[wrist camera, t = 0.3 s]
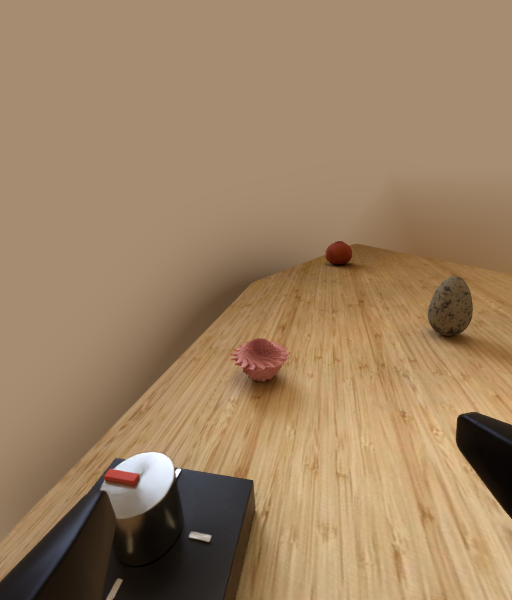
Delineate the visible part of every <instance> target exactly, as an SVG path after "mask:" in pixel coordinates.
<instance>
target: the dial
mask: <svg viewBox="0 0 512 600" xmlns="http://www.w3.org/2000/svg"><path fill="white" fill-rule="evenodd" d="M104 479H105V480H104V482H103V483H102V485H101V488H100V491H101V490H105V491H106V492H107V493H108V495H109V498H110V501H111V504H112V507H113V509H114V512H115V516H116V527H115V533H114V538H113V543H112V547H113V551H114V553H115V555H116V557H117V558H118V559H119V560H120V561H121V562H123V563H124V564H127V565H132V566H139V565H144V564H147V563H150V562H152V561H154V560H156V559H158V558H159V557H160V556H162V555H163V554H164V553H165V552H166V551H167V550H168V549H169V548H170V547H171V546H172V545H173V543H174V542H175V540H176V539H177V537H178V535H179V533H180V531H181V528H182V524H183V509H182V504H181V499H180V494H179V489H178V483H177V478H176V473H175V468H174V465H173V463H172V461H171V460H170V459H169V458H168V457H167V456H165V455H164V454H161V453H157V452H147V453H141V454H138V455H135V456H133V457H130V458H128V459H127V460H125V461H123V462H122V463H120V464H119V465H118V466H116V467H115V468H114V469H109V470H108V471H107V473H106V474H105V475H104Z"/></svg>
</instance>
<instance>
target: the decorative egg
mask: <svg viewBox="0 0 512 600" xmlns="http://www.w3.org/2000/svg"><path fill="white" fill-rule="evenodd" d="M472 312H473V305H472V298H471V293H470V290H469V288H468V286H467V284H466V282H465V281H464V280H463V279H462V278H460V277H458V276H452V277H449V278H447V279H446V280H444V281H443V282H442V283H441V285H440V286H439V287H438V289H437V290H436V292H435V294H434V295H433V297H432V300H431V302H430V305H429V309H428V319H429V323H430V325H431V326H432V328H433V329H434V330H435V331H436V332H438V333H440V334H442V335H446V336H453V335H457V334H459V333H461V332H463V331H464V330H465V329H466V328H467V327H468V325H469V324H470V321H471V318H472Z"/></svg>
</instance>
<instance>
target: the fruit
mask: <svg viewBox="0 0 512 600" xmlns="http://www.w3.org/2000/svg"><path fill="white" fill-rule="evenodd" d="M351 257H352V250H351V248H350V247H349V246H348V245H347V244H345V243H344V242H342V241H340V242H339V241H338V242H335V243H333V244H331V245H330V246H329V247H328V248H327V250H326V259H327V260H328V261H329V262H330V263H332V264H345V263H347V262H349V260H350V259H351Z"/></svg>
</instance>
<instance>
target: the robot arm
mask: <svg viewBox="0 0 512 600" xmlns="http://www.w3.org/2000/svg"><path fill="white" fill-rule="evenodd" d="M456 443H457V446H458V448H459V450H460V452H461V453H462V454H463V456H464V457H465V458H466V460H467V461H468V462H469V464H470V465H471V466H472V468H473V469H474V470H475V472H476V473H477V474H478V476H479V477H480V478H481V480H482V481H483V482H484V484H485V485H486V487H487V488H488V489H489V491H490V492H491V493H492V495H493V496H494V497H495V499H496V500H497V501H498V503H499V504H500V505H501V506H502V508H503V509H504V510H505V512H506V513H507V514H508V515H509V516H510V518H511V519H512V425H510V424H507V423H505V422H502V421H499V420H496V419H494V418H491V417H488V416H485V415H482V414H480V413H477V412H470V413H465V414H461V415H459V416H458V418H457V429H456ZM115 527H116V516H115V512H114V509H113V507H112V504H111V501H110V498H109V495H108V493H107V492H106V491H105V490H101V491H96V492H91V493H88V494H86V495H85V496H84V497H83V498H82V499H81V500H80V501H79V502H78V503H77V504H76V505H75V506H74V507H73V508H72V509H71V510H70V511H69V512H68V513H67V514H66V515H65V516H64V517H63V518H62V519H61V520H60V521H59V522H58V523H57V524H56V525H55V526H54V527H53V528H52V529H51V530H50V531H49V532H48V533H47V535H46V536H45V537H44V538H43V539H42V540H41V541H40V542H39V543H38V544H37V545H36V546H35V547H34V548H33V549H32V550H31V551H30V552H29V553H28V554H27V555H26V556H25V557H24V558H23V559H22V560H21V561H20V562H19V563H18V564H17V565H16V566H15V567H14V568H13V569H12V570H11V571H10V572H9V573H8V574H7V575H6V577H5V578H4V579H3V580H2V581H1V582H0V600H102V595H103V590H104V585H105V580H106V574H107V569H108V564H109V559H110V554H111V548H112V543H113V538H114V533H115Z"/></svg>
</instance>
